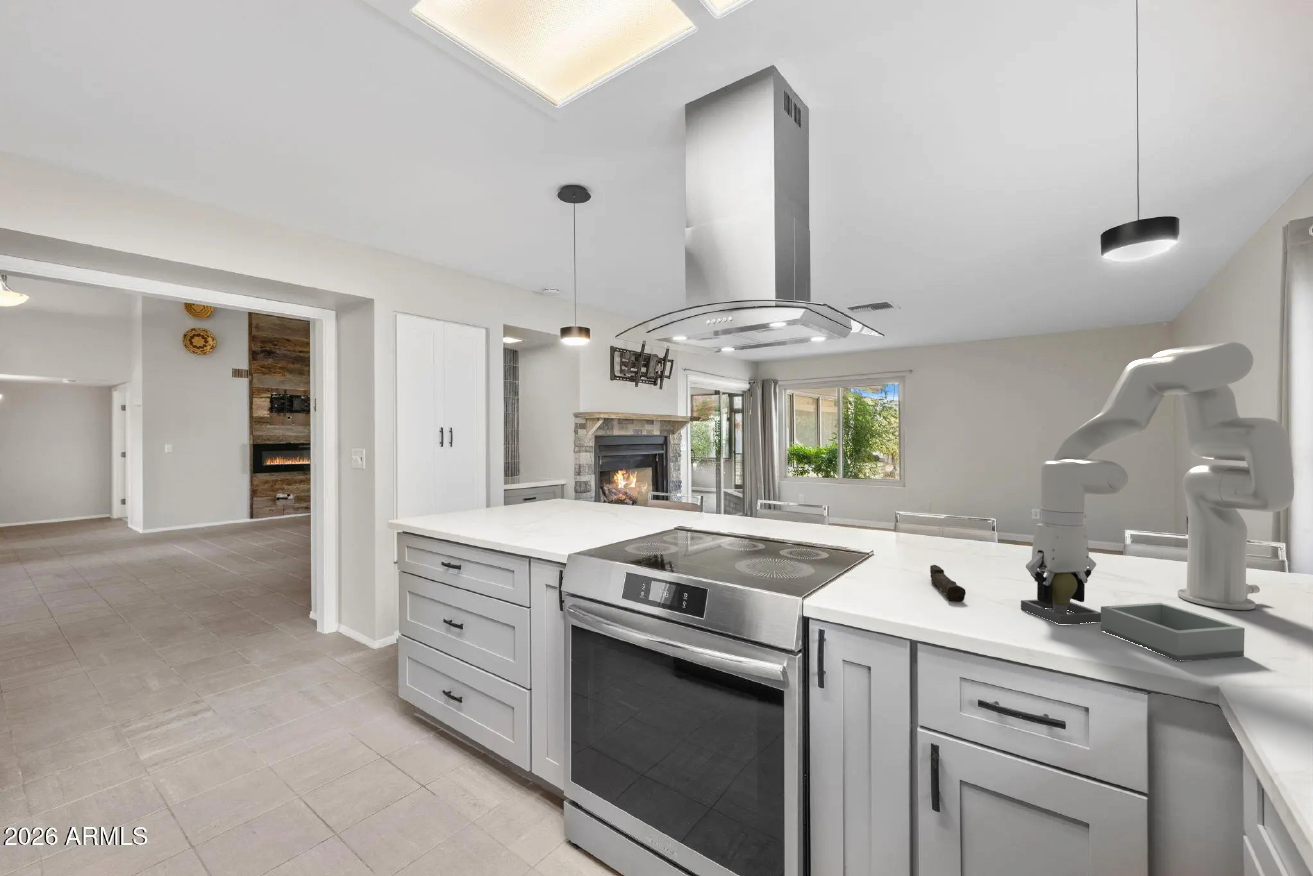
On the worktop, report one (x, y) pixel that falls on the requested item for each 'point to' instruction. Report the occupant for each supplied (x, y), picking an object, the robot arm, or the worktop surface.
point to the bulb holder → (1079, 617)
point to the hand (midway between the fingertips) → (1060, 600)
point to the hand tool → (946, 584)
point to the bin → (1173, 631)
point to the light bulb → (1062, 591)
